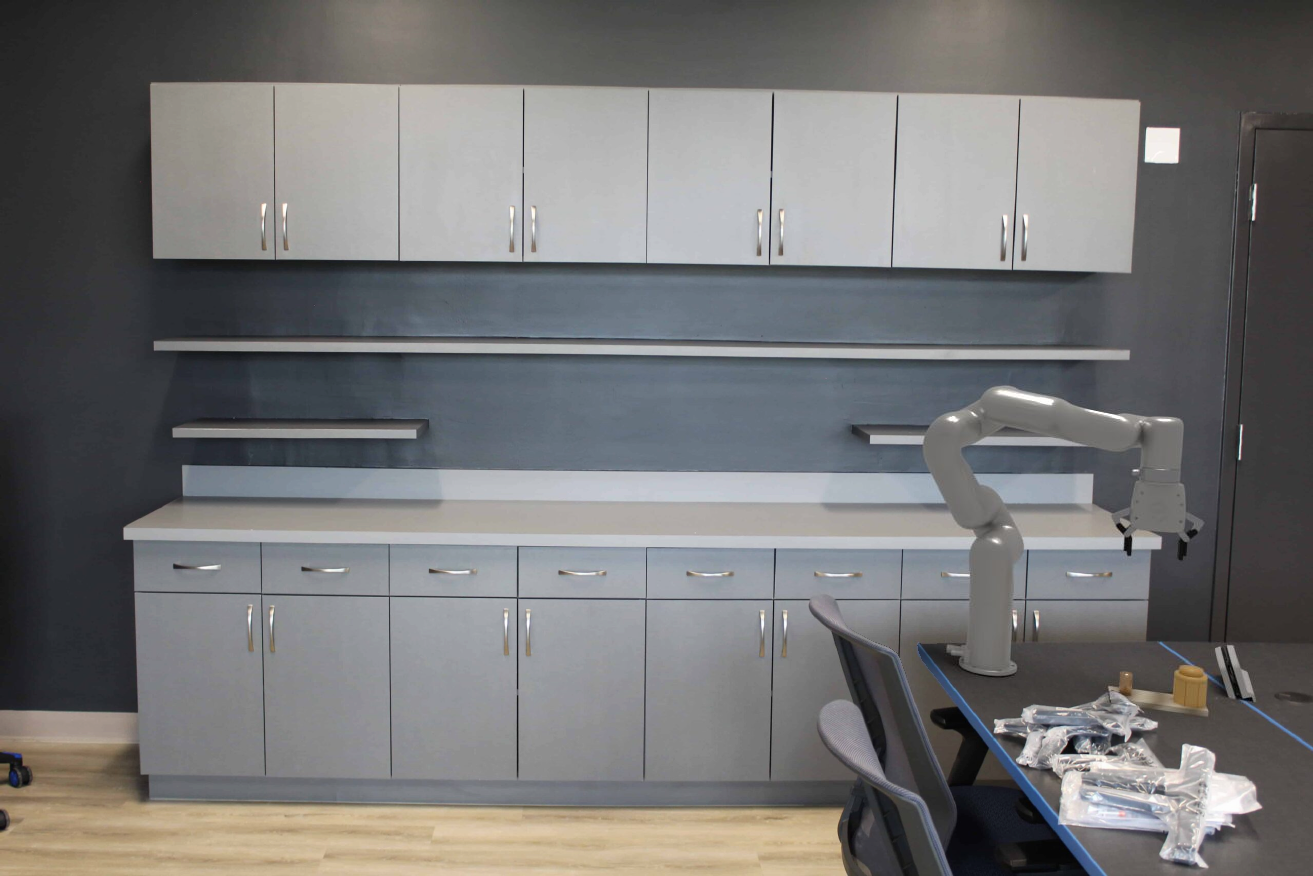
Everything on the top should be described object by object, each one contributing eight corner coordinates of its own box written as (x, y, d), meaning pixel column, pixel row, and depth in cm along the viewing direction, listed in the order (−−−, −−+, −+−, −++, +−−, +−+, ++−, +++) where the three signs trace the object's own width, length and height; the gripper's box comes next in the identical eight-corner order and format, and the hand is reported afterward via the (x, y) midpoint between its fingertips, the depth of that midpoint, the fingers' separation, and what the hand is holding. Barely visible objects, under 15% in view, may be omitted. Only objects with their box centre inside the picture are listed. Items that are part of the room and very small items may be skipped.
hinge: (1257, 703, 208) (1242, 657, 209) (1231, 707, 211) (1217, 661, 211) (1249, 679, 223) (1236, 636, 224) (1226, 682, 225) (1212, 640, 226)
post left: (1119, 695, 209) (1120, 674, 208) (1118, 691, 211) (1119, 670, 210) (1131, 696, 208) (1133, 675, 207) (1130, 693, 210) (1132, 672, 209)
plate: (1110, 703, 207) (1110, 698, 207) (1108, 691, 214) (1108, 686, 214) (1208, 717, 200) (1208, 711, 200) (1202, 704, 208) (1202, 698, 208)
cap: (1174, 705, 203) (1176, 670, 203) (1171, 695, 209) (1173, 662, 208) (1207, 709, 201) (1210, 675, 200) (1203, 699, 207) (1205, 666, 206)
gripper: (1115, 475, 206) (1109, 556, 207) (1209, 481, 200) (1203, 565, 201) (1112, 471, 213) (1107, 550, 214) (1204, 476, 206) (1198, 557, 208)
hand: (1154, 557), depth 208 cm, fingers open, 9 cm apart
